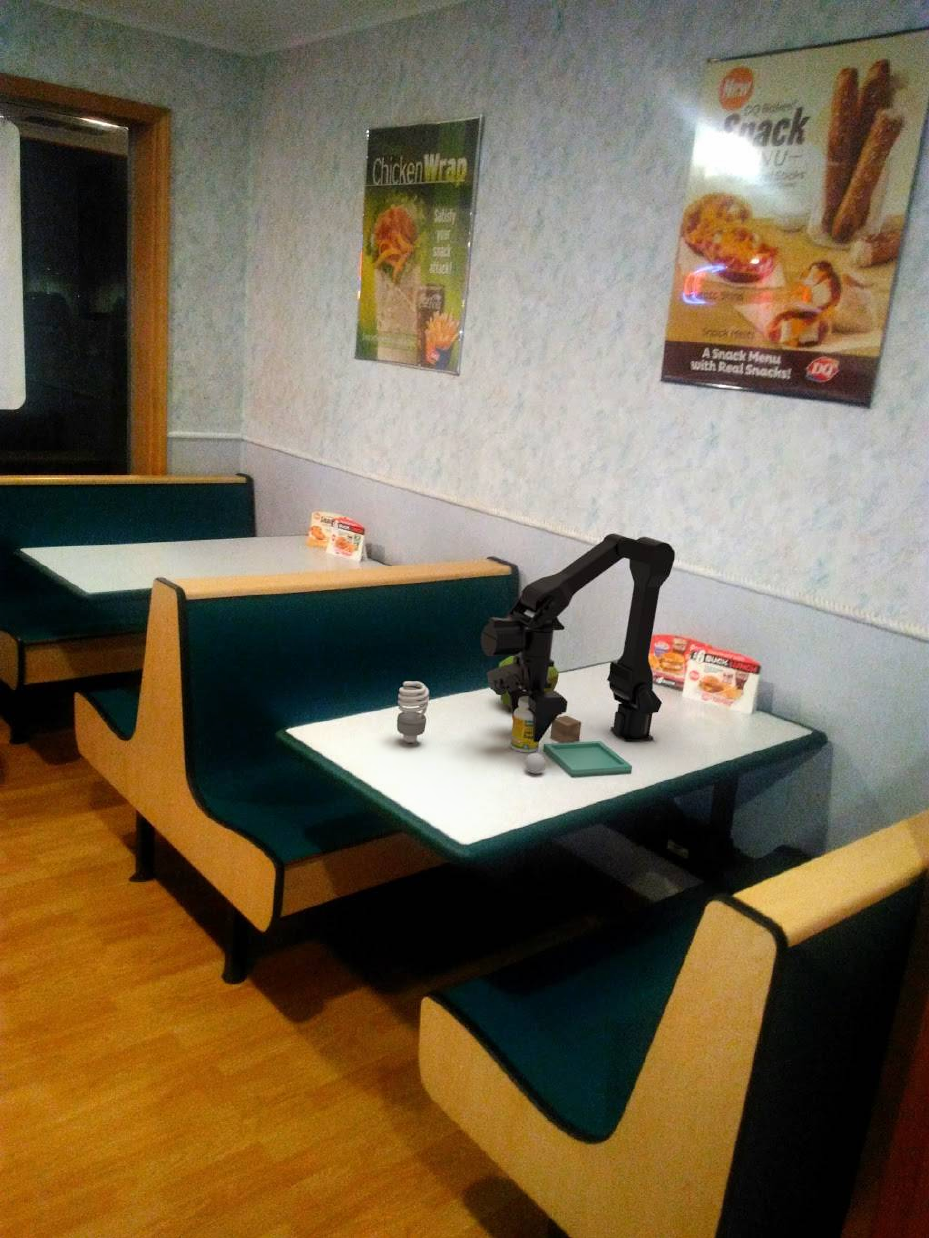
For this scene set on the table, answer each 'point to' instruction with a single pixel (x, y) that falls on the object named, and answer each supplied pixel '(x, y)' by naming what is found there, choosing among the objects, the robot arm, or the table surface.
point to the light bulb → (412, 710)
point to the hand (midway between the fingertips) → (525, 732)
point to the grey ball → (535, 763)
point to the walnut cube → (565, 729)
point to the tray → (587, 759)
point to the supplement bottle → (523, 728)
